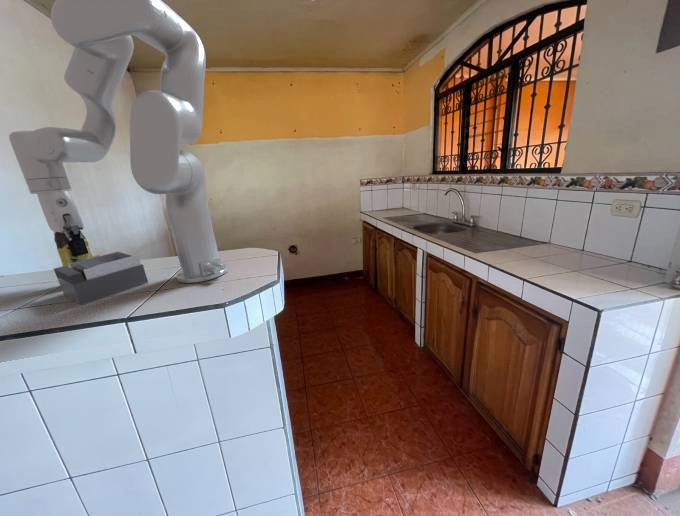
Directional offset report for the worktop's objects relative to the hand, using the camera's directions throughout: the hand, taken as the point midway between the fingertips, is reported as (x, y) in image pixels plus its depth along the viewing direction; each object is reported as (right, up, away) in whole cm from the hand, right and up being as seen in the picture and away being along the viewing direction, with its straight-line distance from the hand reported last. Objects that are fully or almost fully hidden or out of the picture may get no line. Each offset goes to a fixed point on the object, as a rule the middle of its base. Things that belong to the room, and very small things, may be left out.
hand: (74, 252), depth 76 cm
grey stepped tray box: (+11, -9, -3) cm, 15 cm away
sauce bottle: (+1, -8, +3) cm, 9 cm away
